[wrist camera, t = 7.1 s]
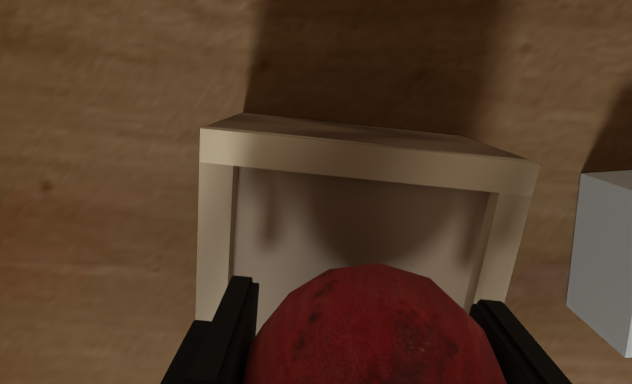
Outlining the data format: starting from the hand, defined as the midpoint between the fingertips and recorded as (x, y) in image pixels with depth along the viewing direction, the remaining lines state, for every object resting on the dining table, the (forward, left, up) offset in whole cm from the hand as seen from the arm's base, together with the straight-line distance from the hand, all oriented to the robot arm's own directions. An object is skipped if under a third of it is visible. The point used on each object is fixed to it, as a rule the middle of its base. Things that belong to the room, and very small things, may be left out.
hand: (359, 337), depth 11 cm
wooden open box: (0, 0, -9) cm, 9 cm away
